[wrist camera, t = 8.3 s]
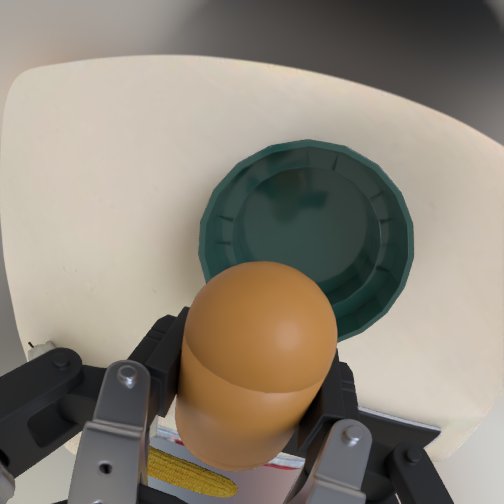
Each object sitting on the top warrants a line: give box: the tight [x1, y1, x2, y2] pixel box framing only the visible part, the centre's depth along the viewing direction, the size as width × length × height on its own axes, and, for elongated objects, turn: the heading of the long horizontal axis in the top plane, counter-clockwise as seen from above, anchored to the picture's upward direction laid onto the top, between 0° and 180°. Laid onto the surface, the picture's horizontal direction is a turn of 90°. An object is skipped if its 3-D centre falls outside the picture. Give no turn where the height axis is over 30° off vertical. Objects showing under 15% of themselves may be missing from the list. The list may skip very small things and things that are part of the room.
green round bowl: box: [198, 139, 414, 343], centre depth 24 cm, size 16×16×6 cm
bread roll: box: [175, 261, 337, 471], centre depth 9 cm, size 8×4×4 cm, turn 167°
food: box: [147, 446, 238, 497], centre depth 41 cm, size 21×6×6 cm, turn 67°
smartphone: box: [281, 406, 442, 459], centre depth 35 cm, size 13×27×2 cm, turn 66°
